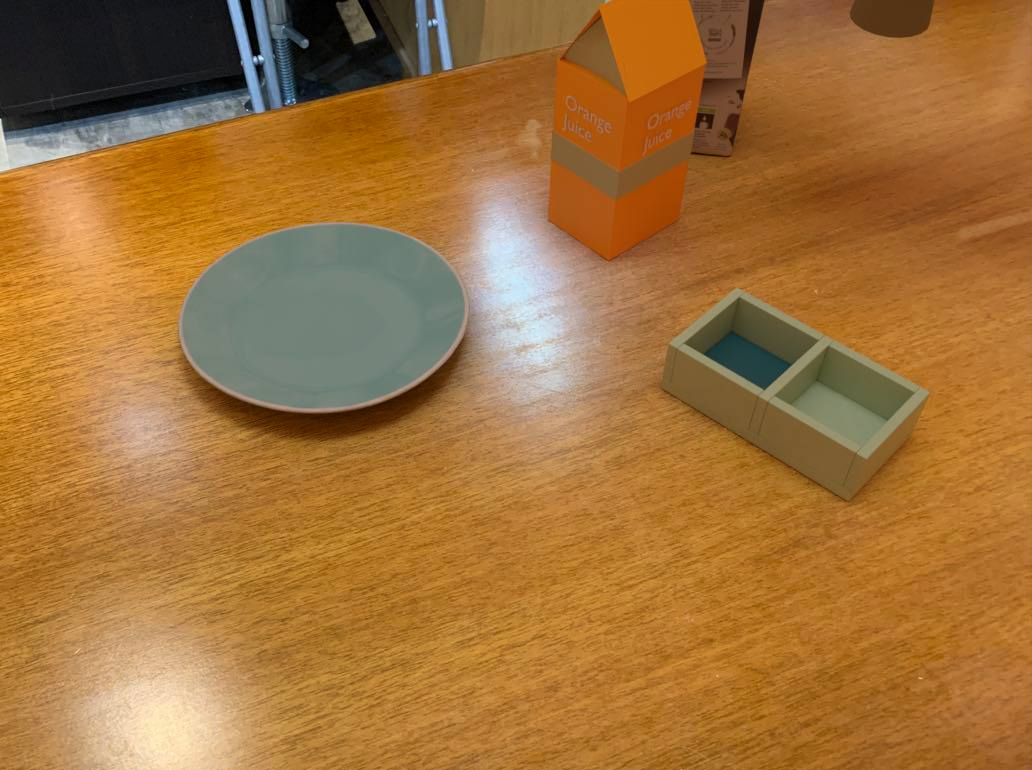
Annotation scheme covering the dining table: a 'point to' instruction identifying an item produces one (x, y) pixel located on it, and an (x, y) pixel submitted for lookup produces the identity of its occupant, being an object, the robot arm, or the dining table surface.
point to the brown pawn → (892, 16)
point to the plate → (323, 317)
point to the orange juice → (625, 123)
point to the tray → (793, 391)
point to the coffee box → (723, 69)
